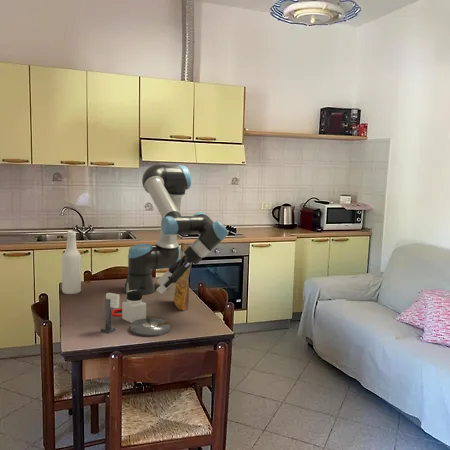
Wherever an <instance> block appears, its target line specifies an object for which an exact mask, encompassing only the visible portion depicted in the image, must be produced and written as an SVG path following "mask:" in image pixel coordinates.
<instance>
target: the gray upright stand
mask: <svg viewBox="0 0 450 450" xmlns="http://www.w3.org/2000/svg"><path fill="white" fill-rule="evenodd" d="M104 307H105V309H104V310H105V312H104V313H105V315H104V317H105V318H104V319H105V320H104V325H105V326H104V327H102V328H100V332H101V333H106V334H111V333H113V332H115V331H116V330H117V329H116V327H113V326H112V315H111V311H112V308H113V309H120V294H119V293H118V294H117V293H114V292H113V293H112V292H107V293H105V306H104Z"/></svg>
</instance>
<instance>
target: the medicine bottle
mask: <svg viewBox="0 0 450 450" xmlns="http://www.w3.org/2000/svg"><path fill="white" fill-rule="evenodd" d="M142 298H143V294H142V292H141V291H139V290H131V291H128V292H127V296H126V300H127V301H126V300H125V301H123V302H122V304H121V305H122V307H121V308H122V311H121V314H122V317H121V318H122V320H124V321H126V322H128V323H130V324H131V323H132V322H133V321H136V320H139V319H145V318H147V303H146V302H144V301H143V299H142Z"/></svg>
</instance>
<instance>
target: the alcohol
mask: <svg viewBox="0 0 450 450" xmlns="http://www.w3.org/2000/svg"><path fill="white" fill-rule="evenodd" d="M66 233H67V239H66V248H65V251H64V252H63V253H62V257H61V291H62V293H63V294H65V295H76V294H79V293H80V292H81V291H82V256H81V253H80V252H79V250H78V248H77V236H76V235H77V234H76V233H77V231H75V230H68V231H67V232H66Z"/></svg>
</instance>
